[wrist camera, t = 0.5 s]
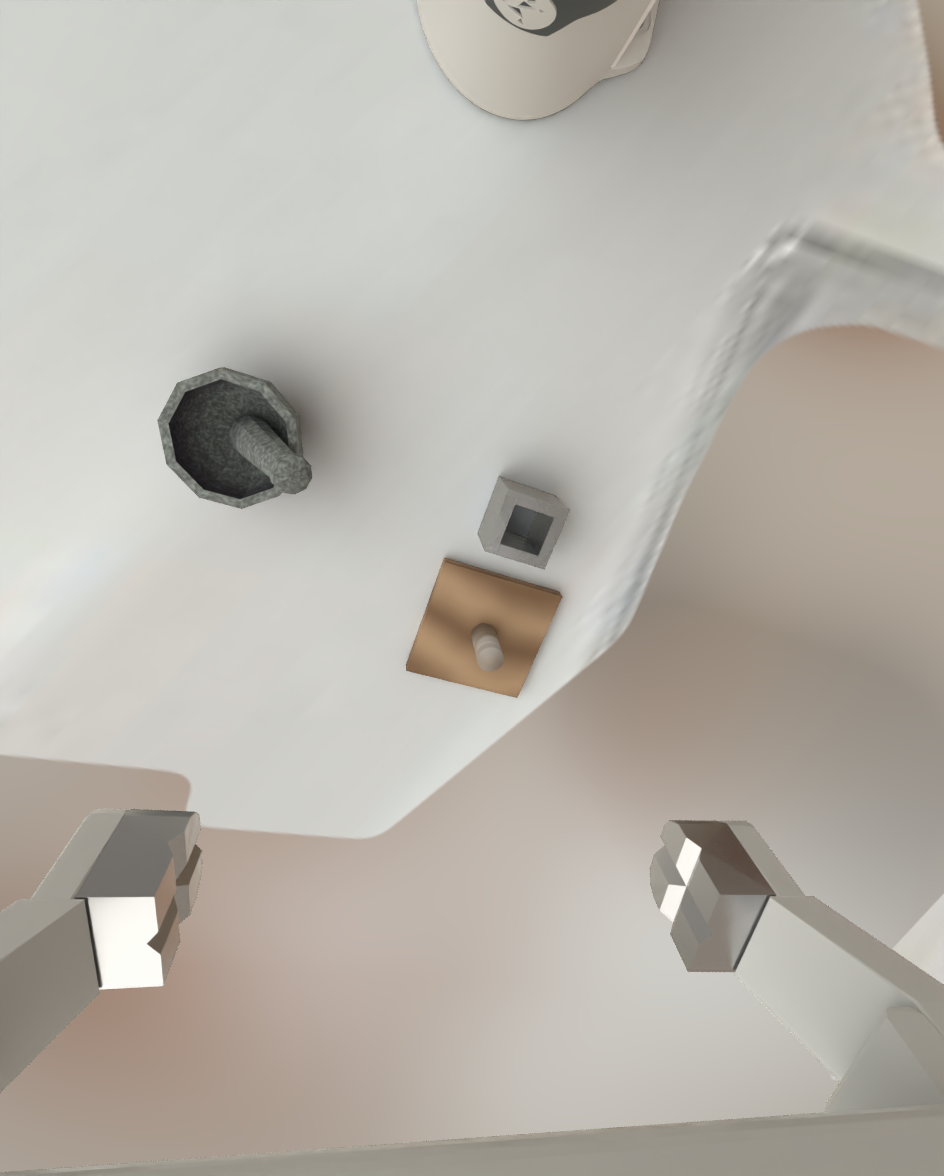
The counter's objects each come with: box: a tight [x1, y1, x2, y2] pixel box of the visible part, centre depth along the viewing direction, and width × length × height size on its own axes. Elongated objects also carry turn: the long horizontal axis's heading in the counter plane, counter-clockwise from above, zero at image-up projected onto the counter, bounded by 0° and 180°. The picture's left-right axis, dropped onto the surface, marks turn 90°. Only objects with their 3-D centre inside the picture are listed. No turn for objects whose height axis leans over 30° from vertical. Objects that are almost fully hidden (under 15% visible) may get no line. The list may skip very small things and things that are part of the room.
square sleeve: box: [478, 477, 570, 569], centre depth 50 cm, size 6×6×5 cm
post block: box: [406, 558, 562, 698], centre depth 54 cm, size 12×12×6 cm
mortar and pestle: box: [158, 367, 312, 509], centre depth 41 cm, size 11×9×12 cm
